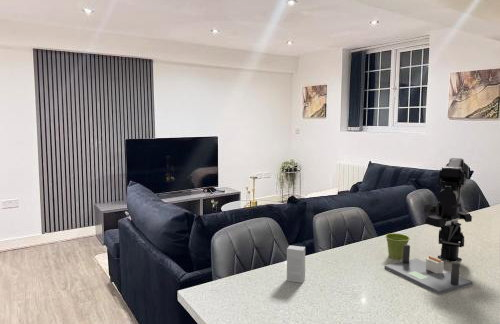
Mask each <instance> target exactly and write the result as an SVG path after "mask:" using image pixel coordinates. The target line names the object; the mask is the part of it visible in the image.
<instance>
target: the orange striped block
mask: <svg viewBox="0 0 500 324" xmlns="http://www.w3.org/2000/svg"><path fill="white" fill-rule="evenodd" d="M425 259H426V260H425V262H426V269H427V270H429V271H432V272H434V273H436V274H439V273H443V269H444V263H445V262H444V261H443V259H440V258H438V257H434V256H432V255H428V257H427V258H425Z"/></svg>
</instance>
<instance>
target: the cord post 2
mask: <svg viewBox="0 0 500 324" xmlns="http://www.w3.org/2000/svg"><path fill="white" fill-rule="evenodd" d="M460 267H461V264H460V263H457V262H451V271H450V272H451V284H452V285H458V284H459V276H460Z"/></svg>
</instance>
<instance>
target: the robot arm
mask: <svg viewBox="0 0 500 324" xmlns="http://www.w3.org/2000/svg"><path fill="white" fill-rule="evenodd" d="M469 169H470V166H469V165H468V164H467V163H466V162H465V160H464V159H463V158H460V157H459V158H458V157H456V158H455V157H451V158H449V162H448V163H446V164H445V165H443V166H442V167H441V168H440V169H439V174H438V180H437V186H438V187H441V190H440V192H439V193H438V196H437V201H438V202H437V205H434V206H433V205H432V204H424V208H423V209H424V210H423V212H424V213H425V214H427V216H425V218H424V224H425V225H429V226H432V227H435V228H440V229H439V230H438V245H441V248H440V255H437V258H438V259H440V260H444V261H447V262H449V263H456V262H459V261H462V259H463V258H461V257H459V253H460V252H459V250H460V248H463V247H465V235H464V234H463V233H464V232H462V227H461V226H462V223H459V220H464V221H465V223H469V222H472V220H473V216H472V215H471V213H468V212H464V211H460V208H461V207H462V204H461V193H462V188H463V187H464V186H465V185H467V184H466V183H467V179H469V174H470V172H469Z"/></svg>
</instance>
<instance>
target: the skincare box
mask: <svg viewBox="0 0 500 324" xmlns="http://www.w3.org/2000/svg"><path fill="white" fill-rule="evenodd" d="M305 280H306V246H301V245H300V246H299V245H298V246H297V245H288V247H287V248H286V281H287V282H290V283H299V284H304V281H305Z"/></svg>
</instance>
